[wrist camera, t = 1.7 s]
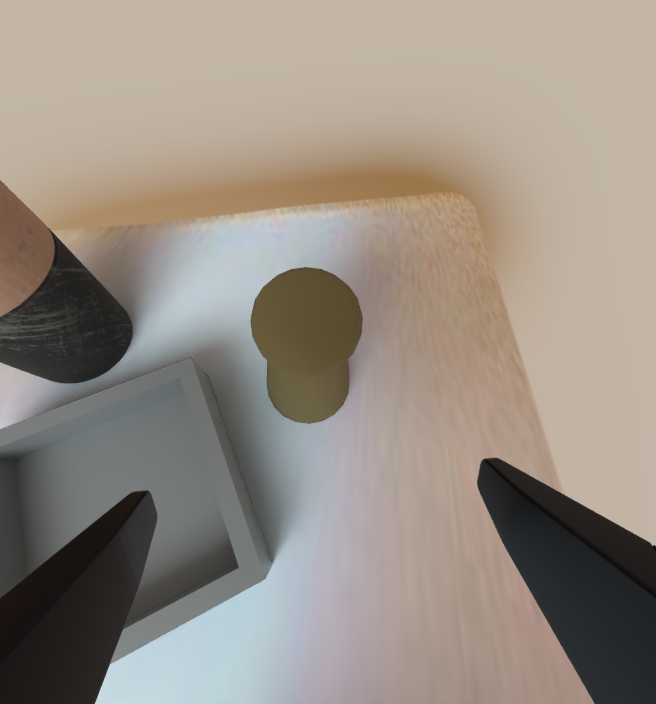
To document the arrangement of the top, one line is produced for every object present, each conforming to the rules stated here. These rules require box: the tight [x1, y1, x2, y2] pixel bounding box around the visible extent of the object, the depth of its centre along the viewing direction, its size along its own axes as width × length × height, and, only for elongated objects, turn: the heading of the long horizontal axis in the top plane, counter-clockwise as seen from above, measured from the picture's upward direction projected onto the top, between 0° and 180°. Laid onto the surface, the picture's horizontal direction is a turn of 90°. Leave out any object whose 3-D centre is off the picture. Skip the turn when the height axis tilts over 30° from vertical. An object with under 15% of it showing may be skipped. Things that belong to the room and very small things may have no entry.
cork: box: [251, 267, 362, 423], centre depth 19 cm, size 6×6×11 cm
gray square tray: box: [0, 357, 272, 664], centre depth 18 cm, size 13×13×4 cm
